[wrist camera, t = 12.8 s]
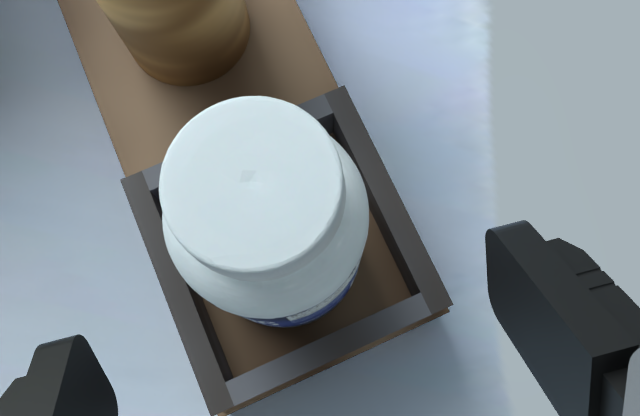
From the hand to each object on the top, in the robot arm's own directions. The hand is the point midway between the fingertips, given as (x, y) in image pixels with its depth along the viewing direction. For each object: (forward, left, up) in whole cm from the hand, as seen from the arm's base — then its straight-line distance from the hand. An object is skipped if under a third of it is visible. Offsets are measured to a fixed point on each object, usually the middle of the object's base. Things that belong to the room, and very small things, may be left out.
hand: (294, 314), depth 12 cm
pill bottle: (0, +3, -10) cm, 11 cm away
